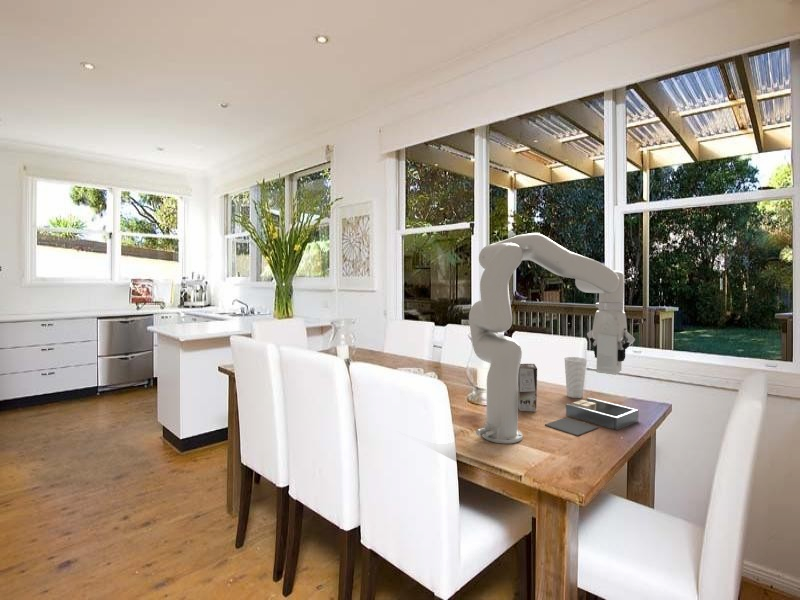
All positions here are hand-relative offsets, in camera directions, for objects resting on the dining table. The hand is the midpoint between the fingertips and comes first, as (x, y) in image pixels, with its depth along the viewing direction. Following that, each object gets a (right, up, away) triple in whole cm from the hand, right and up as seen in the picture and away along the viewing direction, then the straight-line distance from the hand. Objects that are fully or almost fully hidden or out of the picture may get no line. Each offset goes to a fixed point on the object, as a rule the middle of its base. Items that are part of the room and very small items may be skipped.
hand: (609, 358), depth 151 cm
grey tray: (-1, -21, +4) cm, 22 cm away
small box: (0, -5, 0) cm, 5 cm away
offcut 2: (-4, -21, +8) cm, 23 cm away
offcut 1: (-6, -21, +10) cm, 24 cm away
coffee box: (-23, -21, +16) cm, 35 cm away
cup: (0, -20, +31) cm, 37 cm away
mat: (-15, -22, -5) cm, 27 cm away
